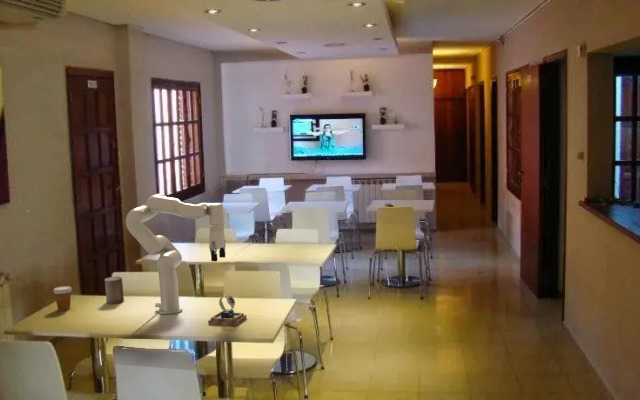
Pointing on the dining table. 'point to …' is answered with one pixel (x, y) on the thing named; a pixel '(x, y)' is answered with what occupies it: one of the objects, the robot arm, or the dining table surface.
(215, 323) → the stand
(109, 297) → the pillar candle
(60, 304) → the disposable coffee cup
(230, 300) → the watch
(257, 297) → the dining table surface
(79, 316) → the dining table surface
